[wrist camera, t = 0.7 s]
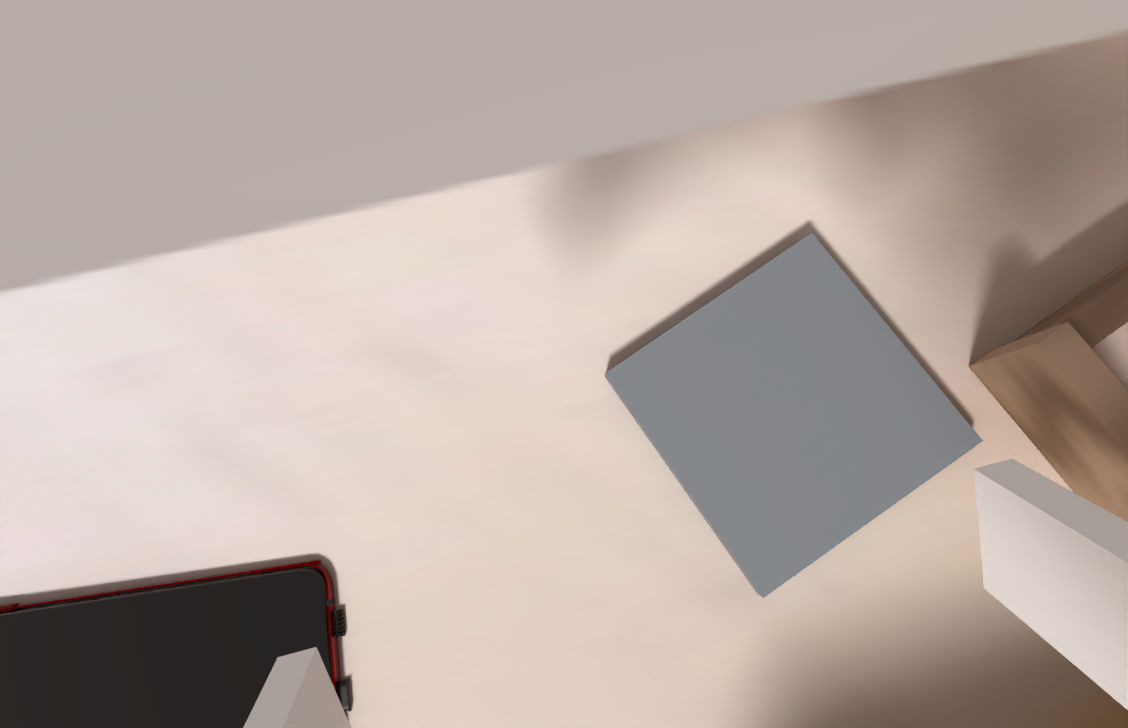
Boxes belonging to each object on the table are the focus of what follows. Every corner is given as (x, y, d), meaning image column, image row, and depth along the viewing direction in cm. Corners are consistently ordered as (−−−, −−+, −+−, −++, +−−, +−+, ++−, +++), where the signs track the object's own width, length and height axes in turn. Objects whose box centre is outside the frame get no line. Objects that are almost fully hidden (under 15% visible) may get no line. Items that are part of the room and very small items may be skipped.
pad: (970, 442, 30) (982, 440, 29) (758, 594, 29) (763, 597, 28) (805, 240, 32) (812, 232, 31) (605, 376, 32) (605, 373, 31)
